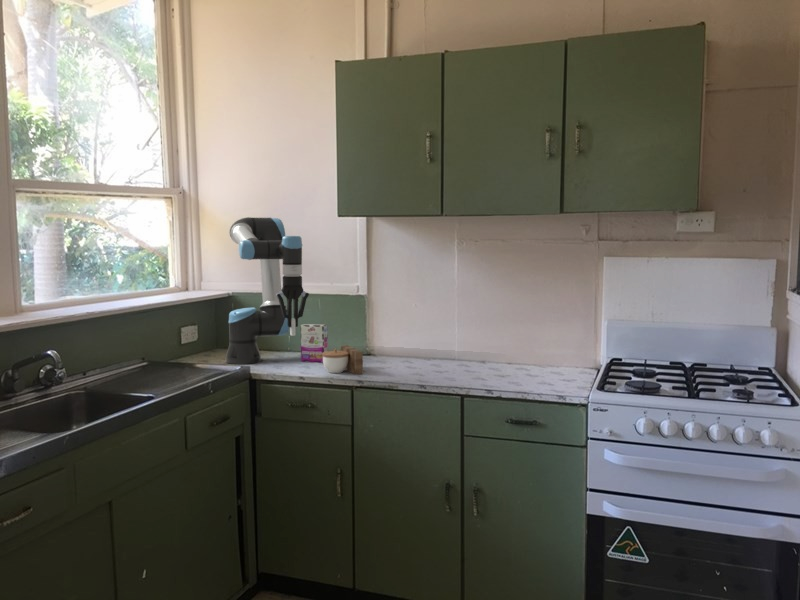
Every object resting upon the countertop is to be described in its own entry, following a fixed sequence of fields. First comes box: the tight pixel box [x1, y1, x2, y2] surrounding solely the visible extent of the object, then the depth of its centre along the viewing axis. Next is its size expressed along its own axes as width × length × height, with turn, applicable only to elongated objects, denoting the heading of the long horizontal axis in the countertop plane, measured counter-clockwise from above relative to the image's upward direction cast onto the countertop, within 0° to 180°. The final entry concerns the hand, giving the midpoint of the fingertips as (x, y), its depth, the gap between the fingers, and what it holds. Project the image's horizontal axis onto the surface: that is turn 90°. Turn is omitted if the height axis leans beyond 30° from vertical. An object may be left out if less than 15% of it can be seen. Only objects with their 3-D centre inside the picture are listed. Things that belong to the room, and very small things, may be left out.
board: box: [340, 344, 364, 375], centre depth 266 cm, size 18×3×9 cm, turn 24°
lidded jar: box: [322, 348, 349, 374], centre depth 263 cm, size 11×11×9 cm
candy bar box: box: [300, 323, 329, 363], centre depth 287 cm, size 11×5×16 cm, turn 73°
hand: (292, 335), depth 256 cm, fingers closed
